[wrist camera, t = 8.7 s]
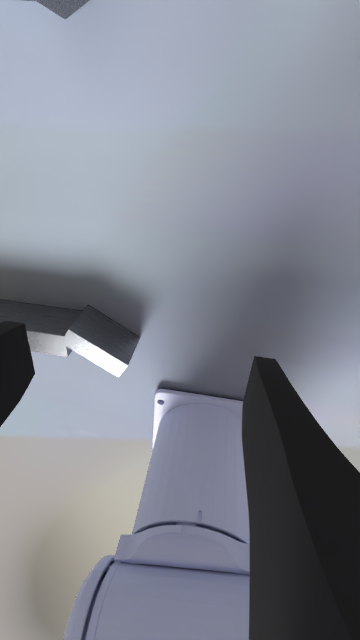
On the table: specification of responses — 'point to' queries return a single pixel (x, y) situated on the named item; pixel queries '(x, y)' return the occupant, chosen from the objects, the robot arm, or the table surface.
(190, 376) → the table surface
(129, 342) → the grey square frame
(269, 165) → the table surface
